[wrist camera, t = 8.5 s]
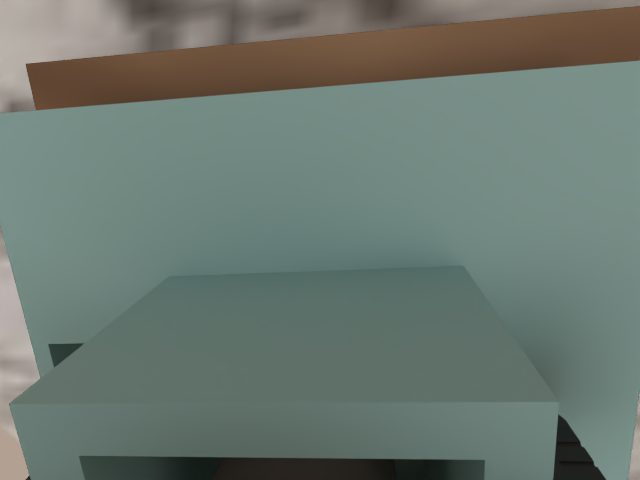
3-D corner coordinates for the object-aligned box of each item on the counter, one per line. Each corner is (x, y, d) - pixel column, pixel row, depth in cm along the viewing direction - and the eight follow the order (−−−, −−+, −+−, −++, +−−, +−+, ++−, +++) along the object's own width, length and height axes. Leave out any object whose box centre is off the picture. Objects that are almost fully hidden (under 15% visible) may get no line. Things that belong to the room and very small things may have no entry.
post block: (61, 69, 14) (-398, -9, 5) (611, 19, 12) (1167, -209, 4) (148, 492, 18) (-36, 811, 9) (566, 500, 16) (784, 901, 8)
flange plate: (639, 66, 8) (1111, -29, 3) (583, 584, 12) (765, 965, 6) (17, 116, 10) (-388, 110, 4) (124, 566, 13) (-37, 867, 8)
